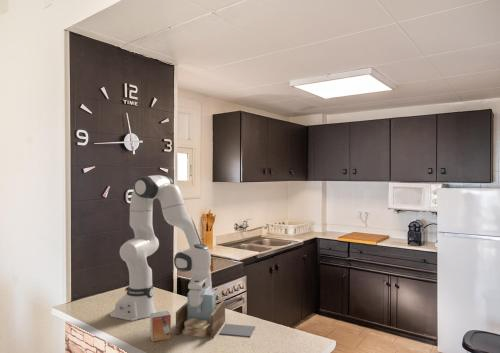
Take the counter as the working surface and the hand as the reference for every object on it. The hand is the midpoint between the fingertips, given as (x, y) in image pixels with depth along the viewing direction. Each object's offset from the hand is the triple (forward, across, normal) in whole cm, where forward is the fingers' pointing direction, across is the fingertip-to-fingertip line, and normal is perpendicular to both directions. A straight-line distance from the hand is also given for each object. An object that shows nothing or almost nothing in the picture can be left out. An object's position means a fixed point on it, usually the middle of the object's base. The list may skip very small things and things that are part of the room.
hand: (201, 309), depth 168 cm
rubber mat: (+8, +1, +17) cm, 19 cm away
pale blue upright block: (+7, 0, 0) cm, 7 cm away
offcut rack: (+8, +1, 0) cm, 8 cm away
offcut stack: (+8, +6, 0) cm, 10 cm away
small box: (+8, +14, -14) cm, 21 cm away
